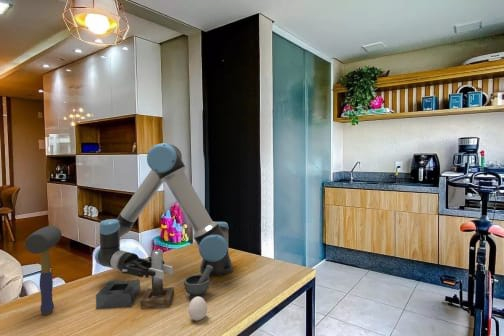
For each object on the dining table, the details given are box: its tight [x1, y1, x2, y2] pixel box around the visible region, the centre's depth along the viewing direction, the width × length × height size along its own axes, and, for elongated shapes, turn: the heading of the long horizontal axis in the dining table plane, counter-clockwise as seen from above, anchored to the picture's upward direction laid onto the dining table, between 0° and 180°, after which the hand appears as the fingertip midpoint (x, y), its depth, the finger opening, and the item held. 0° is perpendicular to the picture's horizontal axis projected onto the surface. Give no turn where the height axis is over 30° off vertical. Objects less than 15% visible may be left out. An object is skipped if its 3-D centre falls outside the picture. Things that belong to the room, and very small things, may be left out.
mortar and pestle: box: [183, 265, 213, 301], centre depth 115 cm, size 11×9×12 cm
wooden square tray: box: [140, 286, 175, 310], centre depth 111 cm, size 10×10×3 cm
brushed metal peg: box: [150, 249, 164, 296], centre depth 111 cm, size 4×4×16 cm
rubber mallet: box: [24, 225, 63, 315], centre depth 103 cm, size 12×8×30 cm, turn 13°
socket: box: [95, 279, 141, 310], centre depth 113 cm, size 12×12×5 cm
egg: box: [188, 296, 208, 321], centre depth 99 cm, size 6×6×8 cm
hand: (167, 272), depth 108 cm, fingers closed on brushed metal peg, 4 cm apart
